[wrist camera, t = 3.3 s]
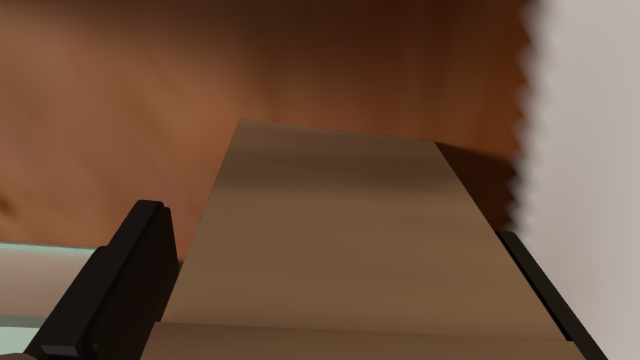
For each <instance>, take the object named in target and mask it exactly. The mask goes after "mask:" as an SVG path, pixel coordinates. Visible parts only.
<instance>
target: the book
mask: <svg viewBox="0 0 640 360" xmlns="http://www.w3.org/2000/svg"><path fill="white" fill-rule="evenodd" d="M96 249H97V248H93V247H78V246H64V245H50V244H35V243H21V242H6V241H0V355H3V354H9V353H23V352H24V350H25V349H26V347H27V346H28V345H29V343H30V342H31V340H32V339H33V337H34V336H35V335H36V333H37V332H38V330H39V329H40V327H41V326H42V325H43V323H44V322H45V320H46V319H47V317H48V316H49V315H50V313H51V312H52V310H53V309H54V307H55V306H56V305H57V303H58V302H59V300H60V299H61V298H62V296H63V295H64V293H65V292H66V290H67V289H68V288H69V286H70V285H71V283H72V282H73V280H74V279H75V278H76V276H77V275H78V273H79V272H80V270H81V269H82V268H83V266H84V265H85V263H86V262H87V260H88V259H89V258H90V256H91V255H92V253H93V252H94V251H95V250H96Z"/></svg>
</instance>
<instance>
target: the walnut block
mask: <svg viewBox="0 0 640 360" xmlns="http://www.w3.org/2000/svg"><path fill="white" fill-rule="evenodd" d="M140 360H586V359H585V358H584V356H583V355H582V353H581V352H580V351H579V349H578V348H577V346H576V345H575V343H574V342H573V341H567V340H566V339H565V337H564V336H563V334H562V333H561V331H560V330H559V328H558V327H557V325H556V324H555V322H554V321H553V319H552V318H551V316H550V315H549V313H548V312H547V310H546V309H545V307H544V306H543V304H542V303H541V301H540V300H539V298H538V297H537V295H536V294H535V292H534V291H533V289H532V288H531V286H530V285H529V283H528V282H527V280H526V279H525V277H524V276H523V274H522V273H521V271H520V270H519V268H518V267H517V265H516V264H515V262H514V261H513V259H512V258H511V256H510V255H509V253H508V252H507V250H506V249H505V247H504V246H503V244H502V243H501V241H500V240H499V238H498V237H497V235H496V234H495V232H494V231H493V229H492V228H491V226H490V225H489V223H488V222H487V220H486V219H485V217H484V216H483V214H482V213H481V211H480V210H479V208H478V207H477V205H476V204H475V202H474V201H473V199H472V198H471V196H470V195H469V193H468V192H467V190H466V189H465V187H464V186H463V184H462V183H461V181H460V180H459V178H458V177H457V176H456V174H455V173H454V171H453V170H452V168H451V167H450V165H449V164H448V162H447V161H446V159H445V158H444V156H443V155H442V153H441V152H440V150H439V149H438V147H437V146H436V144H435V143H434V141H428V140H419V139H410V138H402V137H393V136H385V135H376V134H367V133H359V132H350V131H341V130H333V129H324V128H315V127H307V126H298V125H289V124H281V123H272V122H264V121H255V120H246V119H239V122H238V124H237V127H236V129H235V132H234V135H233V137H232V140H231V142H230V145H229V147H228V150H227V153H226V155H225V158H224V160H223V163H222V165H221V168H220V171H219V173H218V176H217V178H216V181H215V183H214V186H213V189H212V191H211V194H210V196H209V199H208V201H207V204H206V206H205V209H204V212H203V214H202V217H201V219H200V222H199V224H198V227H197V230H196V232H195V235H194V237H193V240H192V242H191V245H190V248H189V250H188V253H187V255H186V258H185V260H184V263H183V266H182V268H181V271H180V273H179V276H178V278H177V281H176V284H175V286H174V289H173V291H172V294H171V296H170V299H169V302H168V304H167V307H166V309H165V312H164V314H163V317H162V319H161V322H155V324H154V326H153V329H152V331H151V334H150V336H149V339H148V341H147V343H146V346H145V348H144V351H143V353H142V356H141V358H140Z"/></svg>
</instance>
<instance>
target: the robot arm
mask: <svg viewBox="0 0 640 360" xmlns="http://www.w3.org/2000/svg"><path fill="white" fill-rule="evenodd" d="M493 231H494V232H495V234H496V235H497V237H498V238H499V240H500V241H501V243H502V244H503V246H504V247H505V249H506V250H507V252H508V253H509V255H510V256H511V258H512V259H513V261H514V262H515V264H516V265H517V267H518V268H519V270H520V271H521V273H522V274H523V276H524V277H525V279H526V280H527V282H528V283H529V285H530V286H531V288H532V289H533V291H534V292H535V294H536V295H537V297H538V298H539V300H540V301H541V303H542V304H543V306H544V307H545V309H546V310H547V312H548V313H549V315H550V316H551V318H552V319H553V321H554V322H555V324H556V325H557V327H558V328H559V330H560V331H561V333H562V334H563V336H564V337H565V339H566V340H567V341H573V342H574V343H575V345H576V346H577V348H578V349H579V351H580V352H581V353H582V355H583V356H584V358H585V359H586V360H608V359H607V357H606V356H605V355H604V353H603V352H602V350H601V349H600V348H599V346H598V345H597V344H596V342H595V341H594V340H593V338H592V337H591V336H590V334H589V333H588V331H587V330H586V329H585V328H584V326H583V325H582V323H581V322H580V321H579V319H578V318H577V317H576V315H575V314H574V313H573V311H572V310H571V308H570V307H569V306H568V304H567V303H566V302H565V300H564V299H563V298H562V297H561V295H560V294H559V292H558V291H557V290H556V288H555V287H554V286H553V284H552V283H551V281H550V280H549V279H548V277H547V276H546V275H545V273H544V272H543V270H542V269H541V268H540V266H539V265H538V264H537V263H536V261H535V260H534V258H533V257H532V256H531V254H530V253H529V251H528V250H527V249H526V247H525V246H524V245H523V243H522V242H521V241H520V239H519V238H518V237H517V235H516V234H515V233H513V232H508V231H496V230H493ZM178 276H179V266H178V259H177V252H176V245H175V238H174V231H173V224H172V218H171V211H170V208H168V207H164V204H163V202H161V201H150V200H138V201H137V202H136V204H135V205H134V206H133V208H132V209H131V211H130V212H129V214H128V215H127V217H126V218H125V220H124V221H123V223H122V224H121V226H120V227H119V229H118V230H117V232H116V233H115V235H114V236H113V238H112V239H111V241H110V242H109V244H108V245H107V246H100V247H99V248H97V249H96V250H95V251H94V252H93V253H92V255H91V256H90V258H89V259H88V260H87V262H86V263H85V265H84V266H83V268H82V269H81V270H80V272H79V273H78V275H77V276H76V278H75V279H74V280H73V282H72V283H71V285H70V286H69V288H68V289H67V290H66V292H65V293H64V295H63V296H62V298H61V299H60V300H59V302H58V303H57V305H56V306H55V307H54V309H53V310H52V312H51V313H50V315H49V316H48V317H47V319H46V320H45V322H44V323H43V325H42V326H41V327H40V329H39V330H38V332H37V333H36V335H35V336H34V337H33V339H32V340H31V342H30V343H29V345H28V346H27V347H26V349H25V350H24V352H23V353H9V354H3V355H0V360H140V358H141V356H142V353H143V351H144V348H145V346H146V343H147V341H148V339H149V336H150V334H151V331H152V329H153V326H154V324H155V322H161V319H162V317H163V314H164V312H165V309H166V307H167V304H168V302H169V299H170V296H171V294H172V291H173V289H174V286H175V284H176V281H177V278H178Z"/></svg>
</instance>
